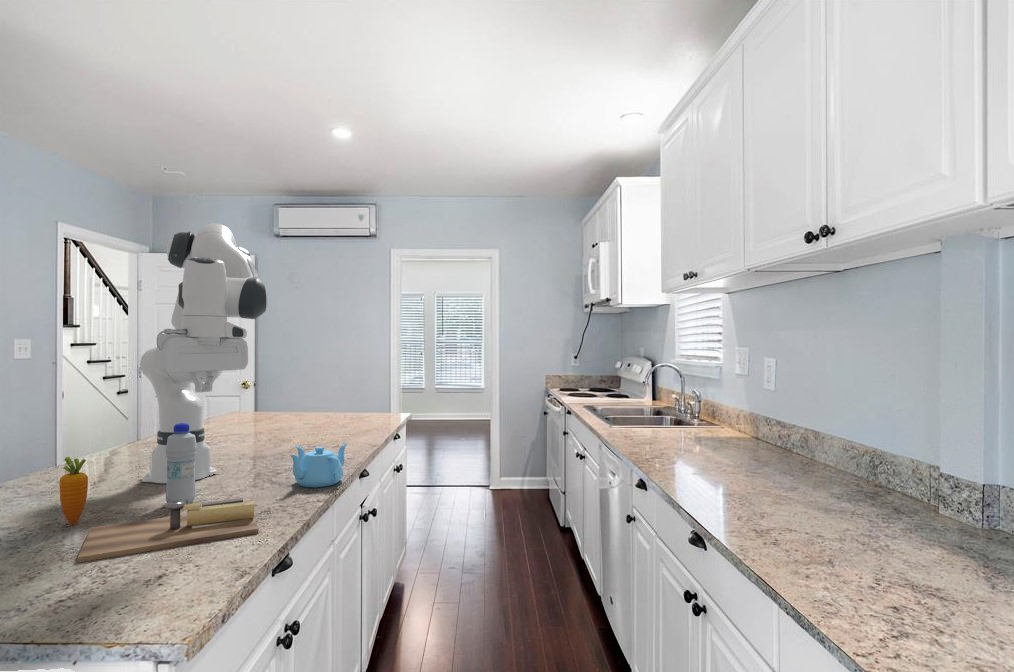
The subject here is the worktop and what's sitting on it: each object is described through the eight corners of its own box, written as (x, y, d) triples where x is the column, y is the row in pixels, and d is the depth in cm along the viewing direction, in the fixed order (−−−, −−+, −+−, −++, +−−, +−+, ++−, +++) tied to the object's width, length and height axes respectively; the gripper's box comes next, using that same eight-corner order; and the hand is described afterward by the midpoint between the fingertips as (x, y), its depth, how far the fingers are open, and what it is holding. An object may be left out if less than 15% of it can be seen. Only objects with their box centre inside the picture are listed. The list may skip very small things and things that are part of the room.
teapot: (342, 489, 147) (343, 451, 148) (284, 491, 145) (285, 453, 145) (347, 476, 162) (348, 442, 162) (294, 477, 159) (295, 443, 159)
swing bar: (163, 529, 110) (164, 506, 110) (166, 524, 114) (166, 501, 114) (254, 518, 118) (254, 496, 118) (253, 513, 121) (254, 492, 121)
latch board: (91, 532, 113) (92, 508, 113) (249, 510, 128) (249, 489, 128) (77, 562, 97) (77, 535, 97) (258, 533, 113) (258, 509, 113)
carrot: (93, 523, 118) (94, 455, 118) (68, 531, 113) (69, 460, 113) (77, 520, 120) (78, 453, 120) (52, 528, 115) (53, 458, 115)
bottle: (181, 508, 129) (182, 425, 129) (157, 506, 130) (159, 424, 130) (202, 500, 135) (203, 421, 136) (179, 498, 137) (181, 420, 137)
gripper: (167, 328, 108) (166, 396, 108) (253, 330, 127) (252, 389, 127) (147, 328, 111) (146, 395, 111) (234, 330, 130) (233, 388, 129)
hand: (203, 391), depth 119 cm, fingers closed
